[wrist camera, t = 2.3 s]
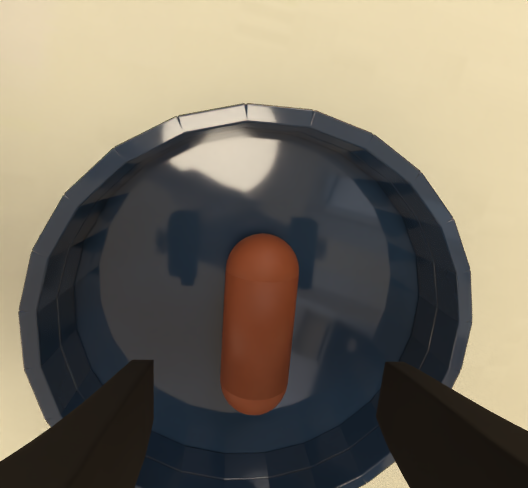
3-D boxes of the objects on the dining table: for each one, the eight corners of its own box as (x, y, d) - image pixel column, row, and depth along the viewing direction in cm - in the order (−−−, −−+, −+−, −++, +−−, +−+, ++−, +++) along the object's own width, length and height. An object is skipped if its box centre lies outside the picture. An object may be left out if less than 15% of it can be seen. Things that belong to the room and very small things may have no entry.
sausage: (279, 385, 17) (290, 431, 14) (219, 385, 16) (217, 433, 14) (294, 229, 15) (310, 244, 12) (227, 225, 15) (227, 240, 12)
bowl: (239, 506, 19) (242, 580, 16) (-20, 299, 15) (-93, 339, 11) (483, 312, 18) (544, 347, 14) (274, 27, 14) (290, -19, 10)
